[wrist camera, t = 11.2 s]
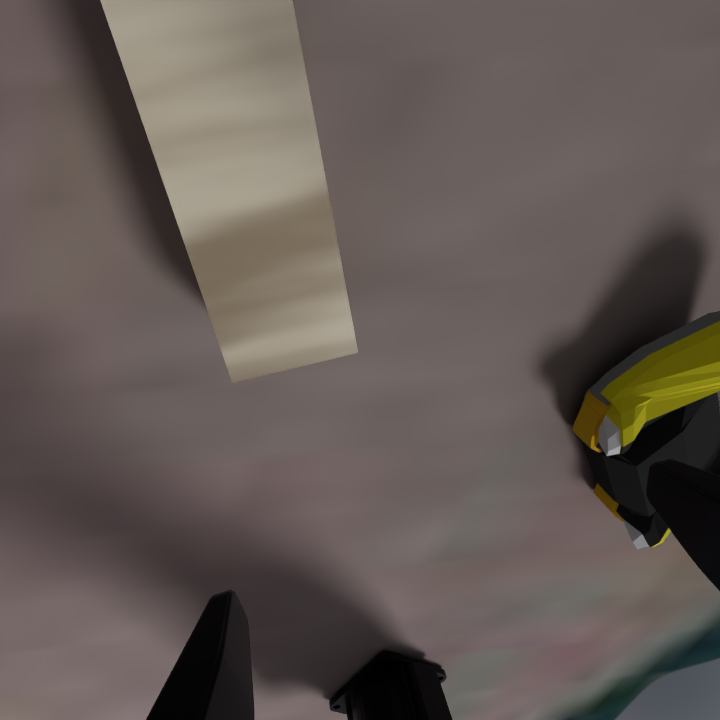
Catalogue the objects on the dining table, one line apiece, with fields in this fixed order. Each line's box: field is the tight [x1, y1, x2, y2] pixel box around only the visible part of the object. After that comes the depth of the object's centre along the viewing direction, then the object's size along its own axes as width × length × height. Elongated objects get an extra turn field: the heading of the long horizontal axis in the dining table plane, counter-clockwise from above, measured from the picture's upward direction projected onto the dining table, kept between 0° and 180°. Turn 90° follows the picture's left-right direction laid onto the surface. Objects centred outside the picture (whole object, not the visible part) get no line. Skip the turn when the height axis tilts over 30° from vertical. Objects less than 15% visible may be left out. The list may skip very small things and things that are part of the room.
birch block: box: [100, 0, 358, 383], centre depth 15 cm, size 4×4×12 cm
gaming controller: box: [573, 311, 720, 549], centre depth 25 cm, size 15×6×10 cm
